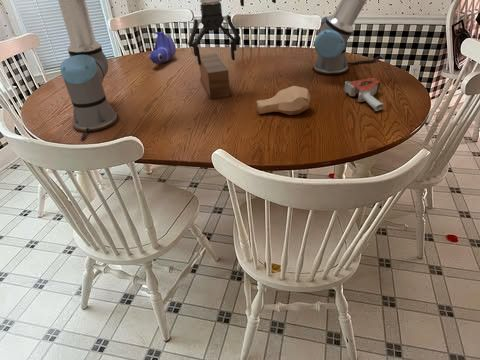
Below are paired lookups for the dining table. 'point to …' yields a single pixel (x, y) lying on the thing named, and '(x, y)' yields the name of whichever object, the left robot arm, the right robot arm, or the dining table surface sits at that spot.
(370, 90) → the tape dispenser
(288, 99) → the squash
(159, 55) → the toy
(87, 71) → the left robot arm
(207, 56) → the box
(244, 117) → the dining table surface
